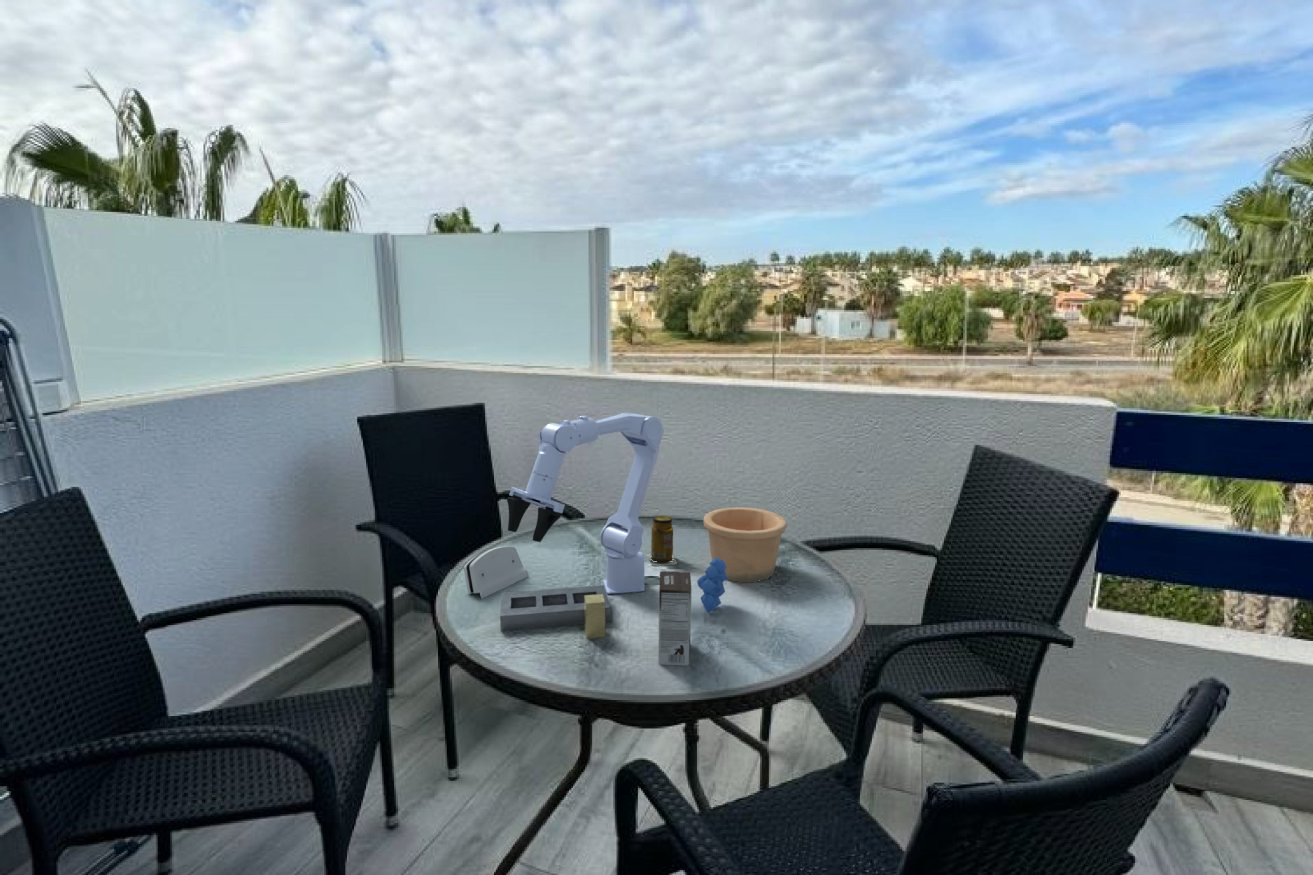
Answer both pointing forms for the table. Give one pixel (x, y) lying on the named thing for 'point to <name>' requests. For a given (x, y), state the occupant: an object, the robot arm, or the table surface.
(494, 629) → the table surface
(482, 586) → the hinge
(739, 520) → the pottery
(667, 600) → the coffee box
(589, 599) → the brass block
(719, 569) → the grapes
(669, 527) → the condiment
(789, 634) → the table surface
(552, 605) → the grey block holder
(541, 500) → the robot arm
